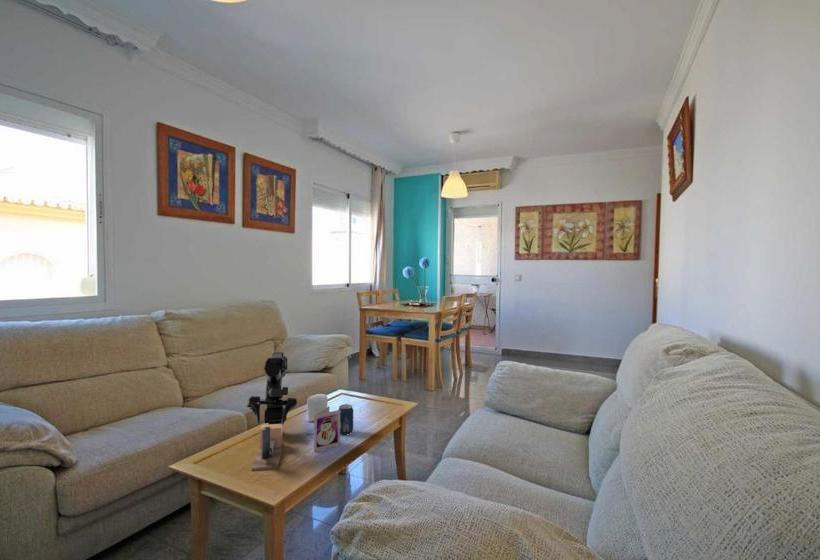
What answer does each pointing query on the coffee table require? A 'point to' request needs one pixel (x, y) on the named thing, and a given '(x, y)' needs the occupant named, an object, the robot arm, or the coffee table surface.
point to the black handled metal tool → (266, 443)
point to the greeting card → (326, 429)
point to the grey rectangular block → (272, 446)
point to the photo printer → (315, 405)
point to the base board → (267, 464)
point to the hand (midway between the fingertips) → (270, 424)
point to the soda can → (346, 419)
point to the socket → (273, 434)
